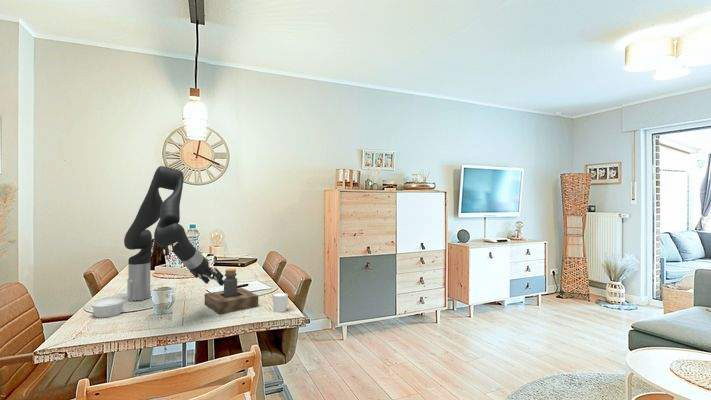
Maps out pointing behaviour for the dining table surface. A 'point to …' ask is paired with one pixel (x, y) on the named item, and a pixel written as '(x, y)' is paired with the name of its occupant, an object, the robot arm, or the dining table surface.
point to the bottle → (230, 283)
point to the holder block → (231, 301)
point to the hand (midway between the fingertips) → (215, 282)
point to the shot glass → (280, 302)
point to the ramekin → (107, 307)
